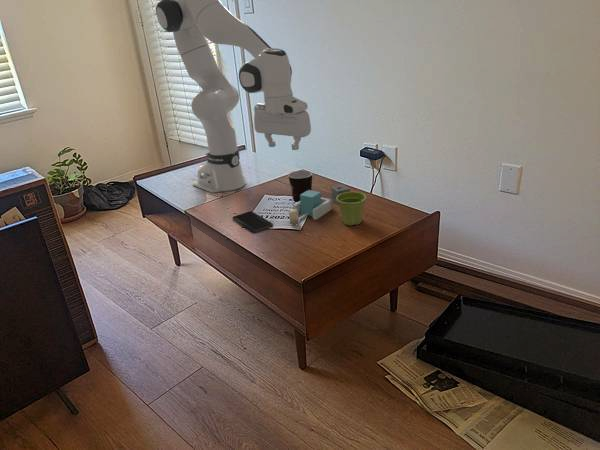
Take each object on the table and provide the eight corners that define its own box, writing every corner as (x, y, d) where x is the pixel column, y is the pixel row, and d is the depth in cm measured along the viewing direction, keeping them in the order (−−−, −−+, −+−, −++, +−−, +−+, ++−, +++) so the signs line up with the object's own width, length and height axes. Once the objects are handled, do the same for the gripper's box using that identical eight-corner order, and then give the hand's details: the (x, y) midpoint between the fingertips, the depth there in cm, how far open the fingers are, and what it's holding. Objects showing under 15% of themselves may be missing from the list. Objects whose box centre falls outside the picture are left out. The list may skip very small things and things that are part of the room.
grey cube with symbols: (331, 199, 176) (331, 187, 174) (344, 197, 177) (343, 184, 175) (337, 204, 172) (337, 191, 170) (350, 201, 173) (349, 188, 171)
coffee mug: (311, 205, 173) (310, 178, 168) (288, 204, 174) (285, 178, 170) (317, 192, 183) (315, 167, 179) (294, 192, 185) (292, 167, 180)
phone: (253, 231, 155) (231, 217, 166) (253, 234, 155) (231, 220, 167) (274, 224, 159) (251, 210, 170) (274, 227, 159) (251, 213, 170)
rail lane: (293, 214, 166) (292, 204, 165) (310, 204, 174) (309, 194, 172) (316, 219, 161) (315, 209, 160) (332, 208, 168) (332, 199, 167)
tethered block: (285, 223, 160) (283, 204, 157) (309, 208, 170) (308, 190, 167) (297, 226, 157) (296, 206, 154) (321, 211, 167) (320, 192, 164)
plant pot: (358, 230, 152) (358, 204, 148) (332, 225, 157) (331, 200, 153) (371, 218, 159) (371, 194, 155) (345, 214, 164) (344, 190, 160)
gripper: (247, 105, 153) (252, 147, 159) (299, 108, 142) (303, 154, 148) (260, 101, 158) (265, 142, 164) (311, 103, 146) (315, 148, 152)
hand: (283, 148), depth 155 cm, fingers open, 8 cm apart
